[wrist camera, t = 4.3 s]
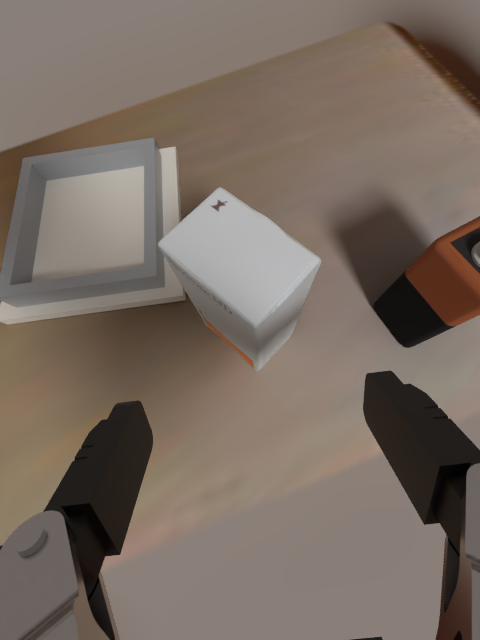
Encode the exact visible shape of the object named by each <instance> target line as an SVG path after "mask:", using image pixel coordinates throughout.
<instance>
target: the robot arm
mask: <svg viewBox="0 0 480 640" xmlns="http://www.w3.org/2000/svg"><path fill="white" fill-rule="evenodd" d="M363 411H364V416H365V420H366V422H367V425H368V427H369V428H370V430H371V432H372V434H373V435H374V437H375V439H376V441H377V442H378V444H379V446H380V448H381V449H382V451H383V453H384V455H385V456H386V458H387V460H388V462H389V463H390V465H391V467H392V469H393V470H394V472H395V474H396V476H397V477H398V479H399V481H400V482H401V484H402V486H403V488H404V490H405V492H406V493H407V495H408V497H409V498H410V500H411V502H412V504H413V506H414V507H415V509H416V511H417V513H418V514H419V516H420V518H421V520H422V521H423V523H424V525H425V524H434V523H440V524H441V526H442V527H443V529H444V531H445V533H446V538H445V547H444V561H443V576H442V591H441V605H440V617H439V625H438V630H437V635H436V640H480V450H479V449H478V448H477V447H476V446H475V445H474V444H473V443H472V441H471V440H470V439H469V438H467V436H466V435H465V434H464V433H463V432H462V431H461V430H460V429H459V428H458V427H457V425H456V424H455V423H454V422H453V421H452V420H451V419H448V416H447V415H446V414H445V413H444V412H443V411H442V410H441V408H438V405H437V404H436V403H435V402H434V401H433V400H432V399H431V398H430V397H429V396H428V395H427V394H426V393H425V392H423V391H422V390H420V389H418V388H417V387H415V386H413V385H411V384H403V383H402V382H401V381H400V380H399V379H398V377H397V376H396V375H395V374H394V373H393V372H392V371H383V372H375V373H368V374H367V375H366V378H365V390H364V403H363ZM152 446H153V435H152V430H151V428H150V425H149V422H148V419H147V417H146V414H145V411H144V408H143V406H142V403H141V402H140V401H131V402H123V403H117V404H116V405H115V406H114V408H113V410H112V411H111V413H110V415H109V417H108V419H106V420H101V421H100V422H99V423H98V424H97V425H96V426H95V427H94V428H93V429H92V430H91V431H90V432H89V434H88V436H87V437H86V439H85V441H84V443H83V444H82V446H81V449H80V450H79V451H78V453H77V455H76V456H75V460H74V461H73V462H72V463H71V465H70V467H69V469H68V470H67V472H66V474H65V475H64V477H63V479H62V481H61V482H60V484H59V486H58V488H57V489H56V491H55V493H54V495H53V496H52V498H51V500H50V501H49V503H48V505H47V507H46V508H45V510H44V511H43V512H41V513H39V514H37V515H35V516H33V517H31V518H29V519H28V520H27V521H25V522H24V523H23V524H21V525H20V526H19V527H18V528H17V529H16V530H15V531H14V532H13V533H12V534H11V535H10V536H9V538H8V539H7V540H6V542H5V543H4V545H2V546H0V640H120V638H119V634H118V630H117V627H116V623H115V620H114V616H113V612H112V609H111V605H110V602H109V598H108V595H107V591H106V587H105V584H104V581H103V576H102V574H101V572H100V570H101V567H102V564H103V561H104V558H105V556H112V555H120V553H121V550H122V547H123V543H124V540H125V537H126V533H127V530H128V527H129V523H130V520H131V517H132V513H133V510H134V507H135V504H136V500H137V497H138V494H139V490H140V487H141V484H142V480H143V477H144V474H145V471H146V467H147V464H148V461H149V457H150V454H151V451H152ZM353 640H382V637H374V638H364V639H353Z"/></svg>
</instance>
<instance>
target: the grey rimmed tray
mask: <svg viewBox="0 0 480 640" xmlns="http://www.w3.org/2000/svg"><path fill="white" fill-rule="evenodd" d="M181 221H182V216H181V198H180V179H179V161H178V153H177V150H176V147H170V148H163V149H159V148H158V146H157V143H156V140H155V138H149V139H142V140H136V141H129V142H123V143H116V144H110V145H103V146H97V147H90V148H84V149H78V150H71V151H65V152H58V153H52V154H45V155H39V156H32V157H26V158H23V161H22V166H21V171H20V176H19V181H18V186H17V192H16V197H15V202H14V207H13V212H12V217H11V222H10V227H9V232H8V237H7V243H6V248H5V253H4V258H3V263H2V268H1V273H0V301H1V305H0V322H2V323H5V324H7V325H8V324H15V323H22V322H30V321H37V320H45V319H52V318H59V317H67V316H74V315H81V314H89V313H96V312H103V311H111V310H118V309H125V308H133V307H140V306H147V305H155V304H162V303H169V302H177V301H184V300H186V291H185V290H184V288H183V286H182V285H181V283H180V282H179V280H178V278H177V277H176V275H175V273H174V272H173V270H172V268H171V267H170V265H169V263H168V262H167V260H166V258H165V257H164V255H163V253H162V252H161V250H160V248H159V247H158V242H159V241H160V240H161V239H162V238H163V237H164V236H165V235H166V234H167V233H168V232H170V231H171V230H172V229H173V228H174V227H175V226H176V225H177V224H178V223H180V222H181Z"/></svg>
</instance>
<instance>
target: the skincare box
mask: <svg viewBox="0 0 480 640" xmlns="http://www.w3.org/2000/svg"><path fill="white" fill-rule="evenodd" d="M158 247H159V248H160V250H161V252H162V253H163V255H164V257H165V258H166V260H167V262H168V263H169V265H170V267H171V268H172V270H173V272H174V273H175V275H176V277H177V278H178V280H179V282H180V283H181V285H182V286H183V288H184V290H185V291H186V293H187V295H188V296H189V298H190V300H191V301H192V303H193V304H194V306H195V308H196V309H197V311H198V313H199V314H200V316H201V318H202V319H203V321H204V323H205V324H206V326H207V327H209V328H210V329H211V330H212V331H213V332H214V333H216V334H217V335H218V336H219V337H220V338H221V339H222V340H224V341H225V342H226V343H227V344H228V345H229V346H230V347H231V348H233V349H234V350H235V351H236V352H237V353H238V354H239V355H240V356H241V357H242V358H243V359H244V360H245V361H246V362H247V363H248V364H249V365H251V366H252V367H253V368H254V369H255V370H256V371H257V372H258V371H259V370H260V369H261V368H262V367H263V366H264V365H265V364H266V363H267V362H268V361H269V359H270V358H271V357H272V356H273V355H274V354H275V353H276V352H277V351H278V350H279V349H280V348H281V347H282V346H283V344H284V343H285V342H286V341H287V340H288V339H289V338H290V337H291V335H292V333H293V331H294V328H295V325H296V323H297V320H298V318H299V315H300V313H301V310H302V307H303V305H304V302H305V300H306V297H307V295H308V292H309V290H310V287H311V285H312V282H313V280H314V278H315V275H316V273H317V271H318V268H319V266H320V264H321V259H320V257H319V256H317V255H316V254H315V253H313V252H312V251H310V250H309V249H308V248H306V247H305V246H303V245H302V244H301V243H299V242H298V241H296V240H295V239H294V238H292V237H291V236H289V235H288V234H287V233H285V232H284V231H283V230H282V229H281V228H280V227H279V226H278V225H276V224H275V223H274V222H273V221H271V220H270V219H269V218H267V217H266V216H264V215H263V214H261V213H259V212H257V211H255V210H253V209H252V208H251V207H249V206H248V205H246V204H245V203H243V202H242V201H240V200H239V199H237V198H236V197H235V196H233V195H232V194H230V193H229V192H228V191H226V190H225V189H223V188H222V187H218V188H217V189H216V190H215V191H214V192H213V193H212V194H211V195H210V196H209V197H208V198H206V199H205V200H204V201H203V202H202V203H201V204H200V205H199V206H198V207H196V208H195V209H194V210H193V211H192V212H191V213H190V214H189V215H187V216H186V217H185V218H184V219H183V220H182V221H181V222H180V223H178V224H177V225H176V226H175V227H174V228H173V229H172V230H171V231H170V232H168V233H167V234H166V235H165V236H164V237H163V238H162V239H161V240H160V241H159V242H158Z"/></svg>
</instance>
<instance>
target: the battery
mask: <svg viewBox="0 0 480 640" xmlns="http://www.w3.org/2000/svg"><path fill="white" fill-rule="evenodd" d="M374 308H375V310H376V311H377V313H378V314H379V315H380V317H381V318H382V319H383V320H384V322H385V323H386V324H387V326H388V327H389V328H390V330H391V331H392V332H393V334H394V335H395V336H396V338H397V339H398V340H399V342H400V343H401V344H402V345H403V346H404V347H407V348H409V347H413V346H415V345H417V344H419V343H421V342H423V341H426V340H428V339H430V338H432V337H434V336H436V335H438V334H440V333H442V332H444V331H447V330H449V329H451V328H453V327H455V326H457V325H459V324H461V323H463V322H466V321H468V320H470V319H472V318H474V317H476V316H478V315H480V216H479V217H478V218H476V219H474V220H472V221H470V222H468V223H466V224H464V225H462V226H460V227H458V228H457V229H455V230H453V231H451V232H449V233H447V234H445V235H443V236H441V237H440V238H438V239H436V240H435V241H434V242H433V243H432V244H431V245H430V246H429V247H428V248H427V249H426V250H425V251H424V252H423V253H422V254H421V255H420V256H419V257H418V259H417V260H416V261H415V262H414V263H413V264H412V265H411V266H410V267H409V268H408V269H407V270H406V271H405V272H404V273H403V274H402V275H401V276H400V277H399V278H398V279H397V280H396V281H395V282H394V283H393V284H392V285H391V286H390V287H389V288H388V289H387V290H386V291H385V292H384V293H383V294H382V295H381V297H380V298H379V299H378V300H377V301H376V302H375V303H374Z"/></svg>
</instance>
